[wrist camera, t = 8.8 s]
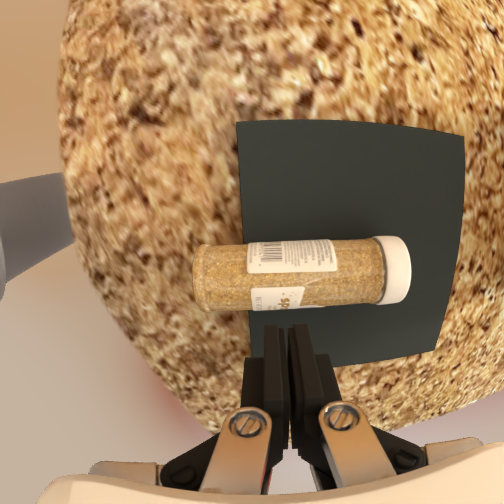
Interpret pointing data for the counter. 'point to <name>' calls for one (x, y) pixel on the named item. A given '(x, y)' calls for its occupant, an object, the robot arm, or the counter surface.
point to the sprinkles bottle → (300, 274)
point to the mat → (357, 222)
